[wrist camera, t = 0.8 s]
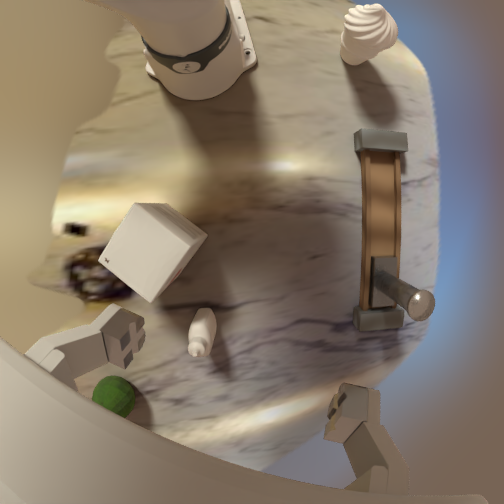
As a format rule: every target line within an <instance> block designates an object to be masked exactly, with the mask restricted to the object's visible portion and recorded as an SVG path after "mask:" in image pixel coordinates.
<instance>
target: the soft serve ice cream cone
mask: <svg viewBox="0 0 504 504" xmlns="http://www.w3.org/2000/svg"><path fill="white" fill-rule="evenodd" d="M344 18H345V20H346V22H345V23H344V31H343V32H342V34H341V48H340V55H341V58H342V59H343V60H344V61H345V62H346V63H348V64H350V65H359V64H361V63H363V62H364V61H366V60H368V59H371V58H374V57H375V56H376V55H377V54H378V53H379V52H381V51H383V50H385V49H388V48H390V47H392V46H393V45H394V44H395V42H396V39H397V36H398V28H397V25H396V23H395V21H394V20H393V18H392V17H391V15H390V14H389V13H388V12H387V11H386V10H385V9H384V8H383V7H382V6H381V5H380V4H374V5H368V4H367V5H365V6H361V5H357V6H356V7H355V8H351V9H349V14H347V15H345V16H344Z"/></svg>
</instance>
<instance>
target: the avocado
mask: <svg viewBox="0 0 504 504" xmlns="http://www.w3.org/2000/svg"><path fill="white" fill-rule="evenodd" d="M92 401H94V402H96V403H97V404H99V405H101V406H103V407H104V408H106V409H108V410H110V411H112V412H114V413H115V414H117V415H119V416H121V417H123V418H125V417H126V416H127V415H128V414H129V413H130V412H131V411H132V410H133V407H134V403H135V394H134V390H133V388H132V387H131V385H130V384H129V383H128V382H127V381H126V380H125V379H123V378H122V377H118V376H107V377H105V378H104V379H102V380H101V381H100V382H99V383H98V384H97V386H96V387H95V389H94V391H93V397H92Z"/></svg>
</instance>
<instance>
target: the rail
mask: <svg viewBox="0 0 504 504" xmlns="http://www.w3.org/2000/svg"><path fill="white" fill-rule="evenodd" d="M354 145H355V151H359V152H361V175H362V260H361V284H360V301H359V306H357V307H354V310H353V324H354V325H355V327H356V328H357V329H358V330H359V332H361V331H372V330H382V329H391V328H400V327H402V326H403V318H404V310H403V309H402V308H400V307H399V306H398V305H397V303H396V302H394V306H382V307H372V306H370V305H369V304H368V301H369V286H370V267H371V256H389V255H393V256H395V257H398V261H397V278H399V268H400V248H401V173H400V153H403V152H407V151H408V142H407V133H403V132H394V131H384V130H373V129H360V130H359V131H357V132H356V133H354Z"/></svg>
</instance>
